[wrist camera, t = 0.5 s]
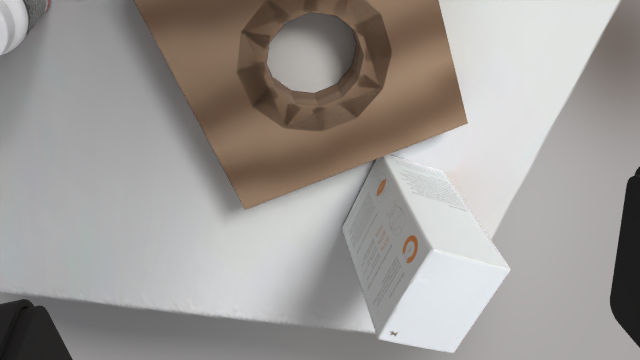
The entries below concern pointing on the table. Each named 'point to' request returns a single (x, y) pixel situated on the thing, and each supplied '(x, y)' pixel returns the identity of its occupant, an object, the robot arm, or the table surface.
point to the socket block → (302, 107)
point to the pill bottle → (19, 20)
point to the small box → (420, 256)
